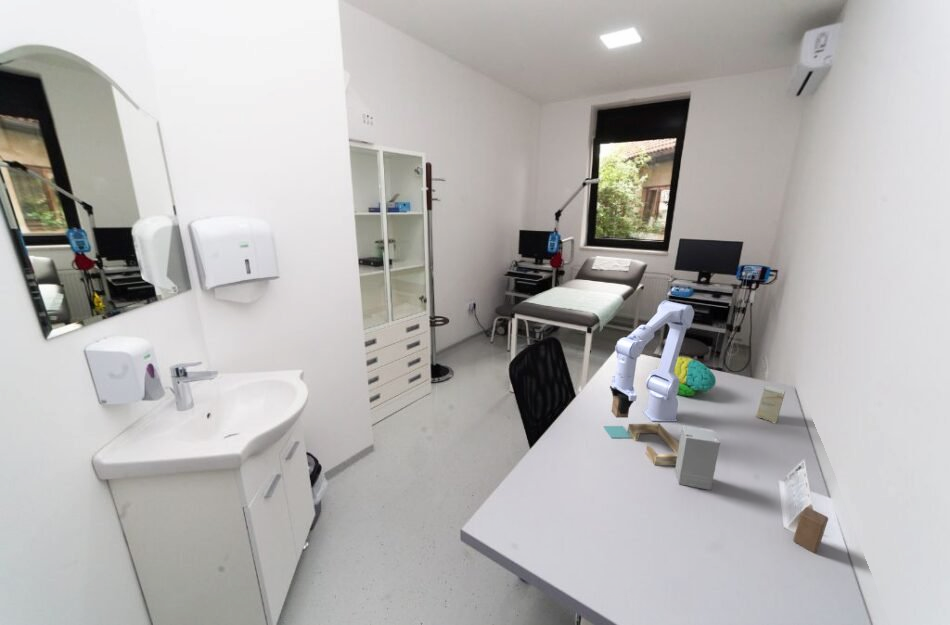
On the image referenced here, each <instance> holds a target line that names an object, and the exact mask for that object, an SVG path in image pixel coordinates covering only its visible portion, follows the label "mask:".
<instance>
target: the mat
mask: <svg viewBox="0 0 950 625" xmlns="http://www.w3.org/2000/svg"><path fill="white" fill-rule="evenodd" d="M603 428H604V430H605V432H606V433H607V434H608V436H609V437H610V438H611V439H633V437H632V436H631V435H630V434H629V432H628V430H626V429H625V427H624V426H623V425H603Z"/></svg>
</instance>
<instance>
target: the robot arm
mask: <svg viewBox="0 0 950 625" xmlns="http://www.w3.org/2000/svg"><path fill="white" fill-rule="evenodd" d="M694 316H695V311H694V308H693V306H692V305H691V304H683V303H678V302H673V301H669V300H666V299H665V300H663V301H662V302H661V303H660V304H659V305H658V307H657V310H656V313H655V314H654V315H653V316H652V318H651V319H650V320H649V321H648V322H647V323H646V324H640V325H639V326H638V327H636V329H634V330H633V331H632V332H631V333H629V334H628V335H627V337H621V338H620V339H618V340H617V342H616V345H615V346H614V347H615V348H614V349H615V352H616V355H615V356H616V358H617V363H616V372H615V376H611V379H610V380H611V382H612V384H610V386H609V388H610V391H611V394H612V397H613V396H618V398H619V403H620V408H619V410H620V414H627V412H628V410H629V411H630V407H631V406H632V404H633V403H634V402H636V401H637V397H638V395H637V394H636V392H635V389H634V388H635V387H634V381H635V373H636V369H637V368H636V366H637V360H638V358H640V357H641V355H642V353H643V350H644V349H645V346H646V345H648V343H649V342H651V341H652V339H654V337H655V332H656V331H658V330H659V329H660V328H662V327H663V326H664V325H666V324H667V325H668V327H669V331H668V334H667V337H666V340H665V344H664V347H663V350H662V354H661V358H660V361H659V365H658V366H659V367H658V366H657V367H658V369H656V368H655V369H652V370H650V373H649V375H648V376H647V378H646V381H645V387H646V389H647V391H648V393H649V395H648V402H647V408H646V409H641V411H642V412H643V413H644V415H645V416H646V417H647V418H648V419H649V420H650V421H651V422H677V421H678V420H677V419H676V418H677V412H678V409H679V408H678V406H679V401H678V397H677V395H678V394H677V393H678V390H679V381H680V380H679V378H678V377H677V376H676V375H675V373H674V369H675V365H676V362H677V359H678V357H679V354H680V353H681V348H682V345H683V341H684V338H685V335H686V332H687V330H689V329H690V328H691V325H692V324H693V319H694Z"/></svg>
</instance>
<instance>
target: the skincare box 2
mask: <svg viewBox="0 0 950 625" xmlns="http://www.w3.org/2000/svg"><path fill="white" fill-rule="evenodd" d="M785 394H786V390H785V389H781V388H776V387H774V386H768V385H764V386H763V390H762V394H761V398H760V401H759V405H758V409H757V413H756V416H757V417H760V418H763V419H766V420H765V421H767V420H769V421H768V422H770V421H772V422H771V423H773V422H775V423H774V424H777V421H778V420H779V415H780V411H781V408H782V405H783V401H784V398H785ZM757 417H756V418H757ZM760 418H759V419H760ZM763 419H762V420H763Z"/></svg>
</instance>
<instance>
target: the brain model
mask: <svg viewBox="0 0 950 625" xmlns="http://www.w3.org/2000/svg"><path fill="white" fill-rule="evenodd" d="M658 367H659V365H658V366H657V367H655V369H658ZM674 373H675V375H676V376H677V377H678V378H679V380H680V381H679V390H678V393H677V395H680V396H683V397H690V396H694V395H695V394H696V392H705V393H706V392H708V391H710V390H711V389H713V387H715V385H716V381H717V380H716V376H715V374H714V373H713V371H711V370H710V368H709V367H708V366H706V365H705V364H703V363H702V362H701V361H698V360H695V359H692V358H690V357H683V356H678V359H677V362H676V365H675V369H674Z"/></svg>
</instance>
